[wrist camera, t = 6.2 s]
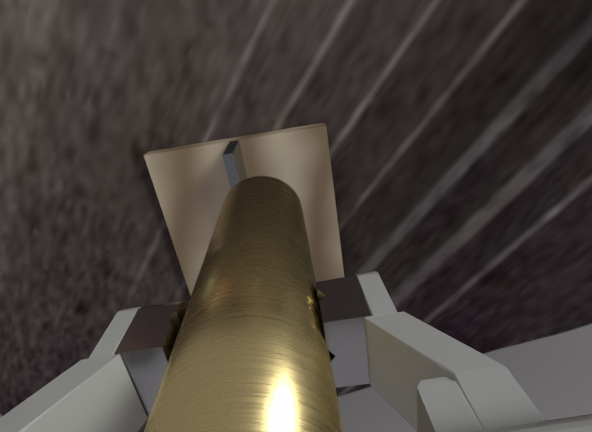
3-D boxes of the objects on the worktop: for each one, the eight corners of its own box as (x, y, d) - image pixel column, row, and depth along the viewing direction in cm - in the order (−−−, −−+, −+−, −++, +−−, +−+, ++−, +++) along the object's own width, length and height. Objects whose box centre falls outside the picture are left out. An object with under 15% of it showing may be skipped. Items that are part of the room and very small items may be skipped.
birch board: (324, 122, 33) (326, 125, 31) (347, 316, 42) (350, 325, 40) (149, 151, 33) (143, 155, 32) (209, 337, 42) (207, 346, 41)
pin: (296, 170, 14) (378, 581, 3) (307, 243, 15) (392, 719, 4) (214, 182, 14) (-3, 636, 3) (231, 254, 15) (123, 757, 4)
